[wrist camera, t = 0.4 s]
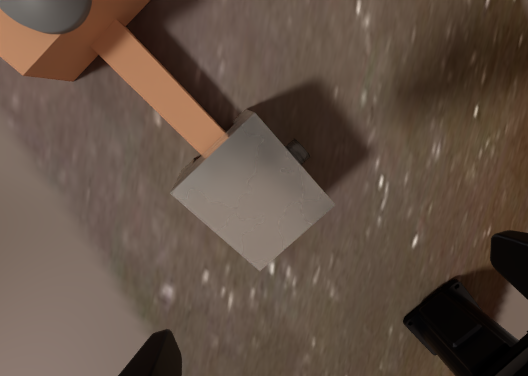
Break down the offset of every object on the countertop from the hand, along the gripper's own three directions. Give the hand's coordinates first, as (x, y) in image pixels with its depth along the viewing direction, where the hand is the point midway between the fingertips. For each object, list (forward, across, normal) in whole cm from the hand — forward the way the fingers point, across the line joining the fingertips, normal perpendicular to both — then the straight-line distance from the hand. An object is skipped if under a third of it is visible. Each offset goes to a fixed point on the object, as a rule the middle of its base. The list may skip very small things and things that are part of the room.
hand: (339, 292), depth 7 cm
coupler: (+13, +5, -7) cm, 16 cm away
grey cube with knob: (+13, +1, 0) cm, 13 cm away
